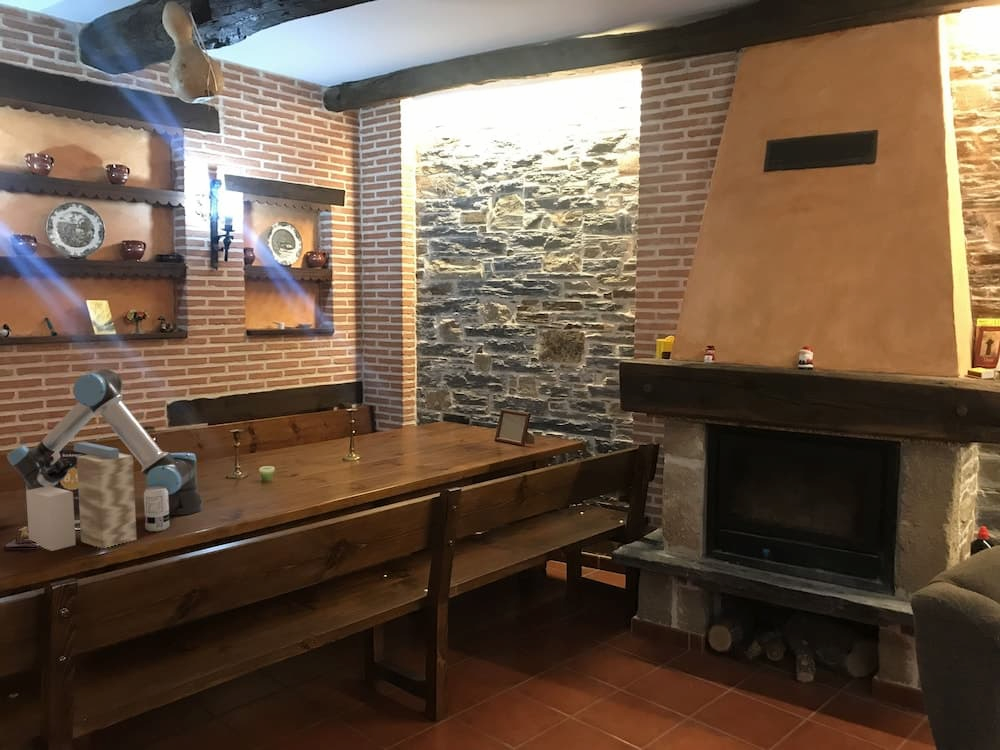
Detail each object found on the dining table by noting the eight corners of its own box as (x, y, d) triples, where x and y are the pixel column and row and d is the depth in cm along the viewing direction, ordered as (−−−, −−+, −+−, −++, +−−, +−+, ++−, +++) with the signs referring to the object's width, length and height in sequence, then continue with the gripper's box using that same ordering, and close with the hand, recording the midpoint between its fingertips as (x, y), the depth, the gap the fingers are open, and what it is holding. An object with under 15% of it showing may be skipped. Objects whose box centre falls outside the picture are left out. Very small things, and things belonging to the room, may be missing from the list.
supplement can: (140, 529, 295) (138, 489, 294) (160, 524, 302) (159, 484, 300) (153, 533, 291) (152, 492, 289) (174, 527, 298) (172, 488, 296)
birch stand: (113, 532, 291) (110, 450, 288) (136, 539, 283) (132, 455, 280) (81, 541, 281) (76, 456, 278) (103, 548, 273) (99, 461, 270)
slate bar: (82, 449, 289) (81, 441, 289) (119, 457, 277) (118, 448, 276) (74, 451, 287) (73, 442, 287) (110, 459, 274) (110, 450, 274)
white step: (52, 537, 286) (49, 485, 284) (75, 544, 277) (72, 492, 275) (29, 542, 279) (26, 490, 277) (51, 550, 271) (49, 496, 269)
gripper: (89, 476, 308) (114, 454, 297) (20, 489, 287) (45, 466, 276) (82, 458, 309) (108, 435, 298) (13, 470, 289) (38, 446, 277)
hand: (77, 450), depth 287 cm, fingers open, 13 cm apart
